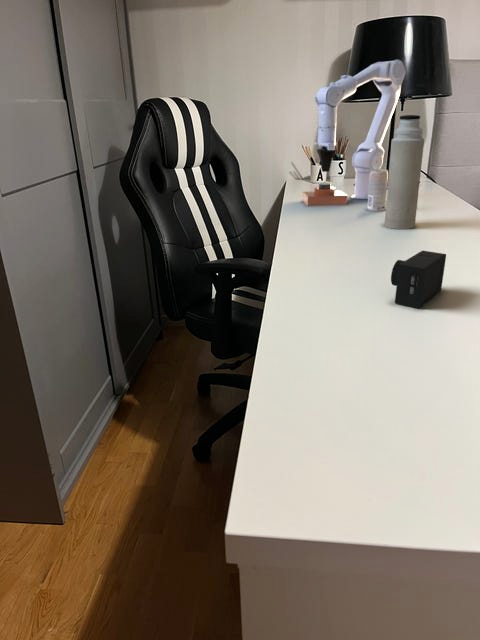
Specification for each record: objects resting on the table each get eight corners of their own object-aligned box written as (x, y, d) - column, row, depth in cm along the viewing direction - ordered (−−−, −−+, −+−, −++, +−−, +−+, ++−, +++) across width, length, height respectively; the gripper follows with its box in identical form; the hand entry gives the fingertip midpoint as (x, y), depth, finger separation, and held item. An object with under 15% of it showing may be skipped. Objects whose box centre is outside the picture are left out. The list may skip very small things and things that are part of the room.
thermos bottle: (413, 222, 139) (424, 114, 128) (416, 229, 132) (429, 115, 121) (383, 222, 141) (392, 115, 130) (385, 228, 134) (395, 115, 123)
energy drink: (383, 208, 160) (386, 169, 155) (386, 211, 155) (389, 171, 150) (366, 208, 160) (369, 169, 155) (368, 211, 155) (371, 171, 151)
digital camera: (411, 285, 92) (415, 248, 90) (441, 291, 89) (446, 253, 86) (387, 302, 85) (391, 262, 82) (419, 309, 82) (424, 268, 79)
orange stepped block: (339, 199, 175) (340, 185, 173) (346, 204, 166) (347, 189, 164) (302, 201, 175) (303, 186, 173) (307, 206, 166) (308, 191, 164)
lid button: (329, 188, 171) (329, 182, 170) (331, 189, 167) (332, 184, 166) (317, 188, 170) (317, 183, 170) (320, 190, 167) (320, 184, 166)
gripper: (310, 127, 168) (309, 169, 173) (319, 129, 154) (317, 174, 160) (331, 126, 168) (329, 168, 173) (341, 128, 154) (339, 173, 160)
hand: (325, 171), depth 166 cm, fingers closed
